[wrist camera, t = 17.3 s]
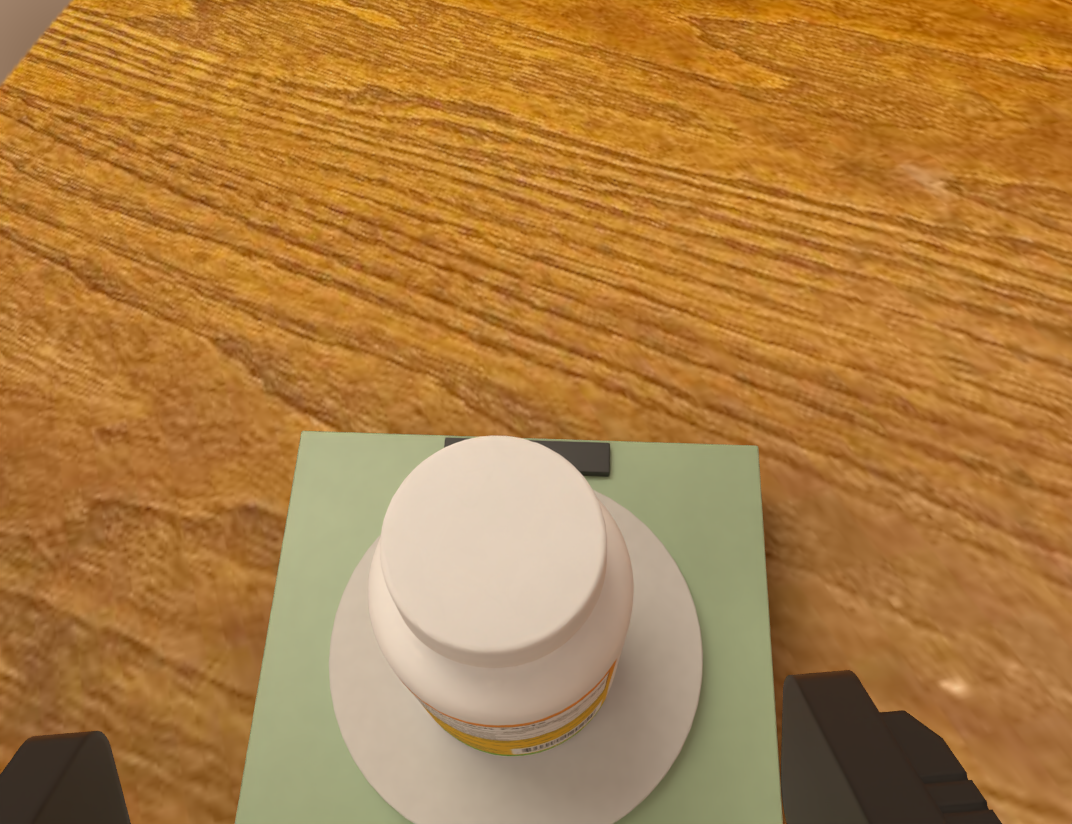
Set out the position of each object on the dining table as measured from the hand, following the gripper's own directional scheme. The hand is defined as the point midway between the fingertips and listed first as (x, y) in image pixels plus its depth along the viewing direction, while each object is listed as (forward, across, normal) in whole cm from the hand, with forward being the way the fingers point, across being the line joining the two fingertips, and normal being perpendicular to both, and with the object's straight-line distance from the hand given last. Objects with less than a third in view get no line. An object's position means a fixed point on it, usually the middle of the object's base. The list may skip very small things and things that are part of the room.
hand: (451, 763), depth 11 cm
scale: (+15, -1, +9) cm, 18 cm away
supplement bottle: (+12, 0, +7) cm, 14 cm away
